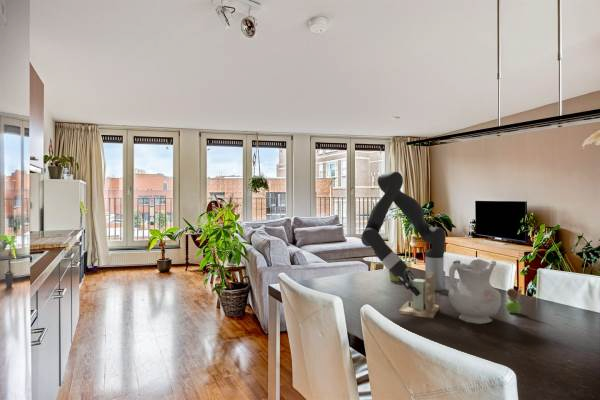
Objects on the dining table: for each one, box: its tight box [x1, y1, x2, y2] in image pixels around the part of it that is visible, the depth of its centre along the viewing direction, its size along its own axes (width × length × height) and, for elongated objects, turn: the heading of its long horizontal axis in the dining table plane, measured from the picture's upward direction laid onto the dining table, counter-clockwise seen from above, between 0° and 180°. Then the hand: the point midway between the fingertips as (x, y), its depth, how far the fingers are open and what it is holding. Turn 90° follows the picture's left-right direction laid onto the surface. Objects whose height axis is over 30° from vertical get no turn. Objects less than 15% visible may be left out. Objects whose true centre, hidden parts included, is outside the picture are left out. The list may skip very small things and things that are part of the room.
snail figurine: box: [505, 286, 523, 314], centre depth 156 cm, size 5×6×12 cm
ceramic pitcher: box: [448, 258, 502, 325], centre depth 149 cm, size 22×19×25 cm
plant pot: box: [388, 270, 400, 282], centre depth 218 cm, size 9×9×9 cm
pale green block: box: [412, 278, 426, 310], centre depth 161 cm, size 4×6×12 cm
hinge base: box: [398, 272, 440, 319], centre depth 161 cm, size 14×16×16 cm
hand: (420, 292), depth 161 cm, fingers open, 8 cm apart
